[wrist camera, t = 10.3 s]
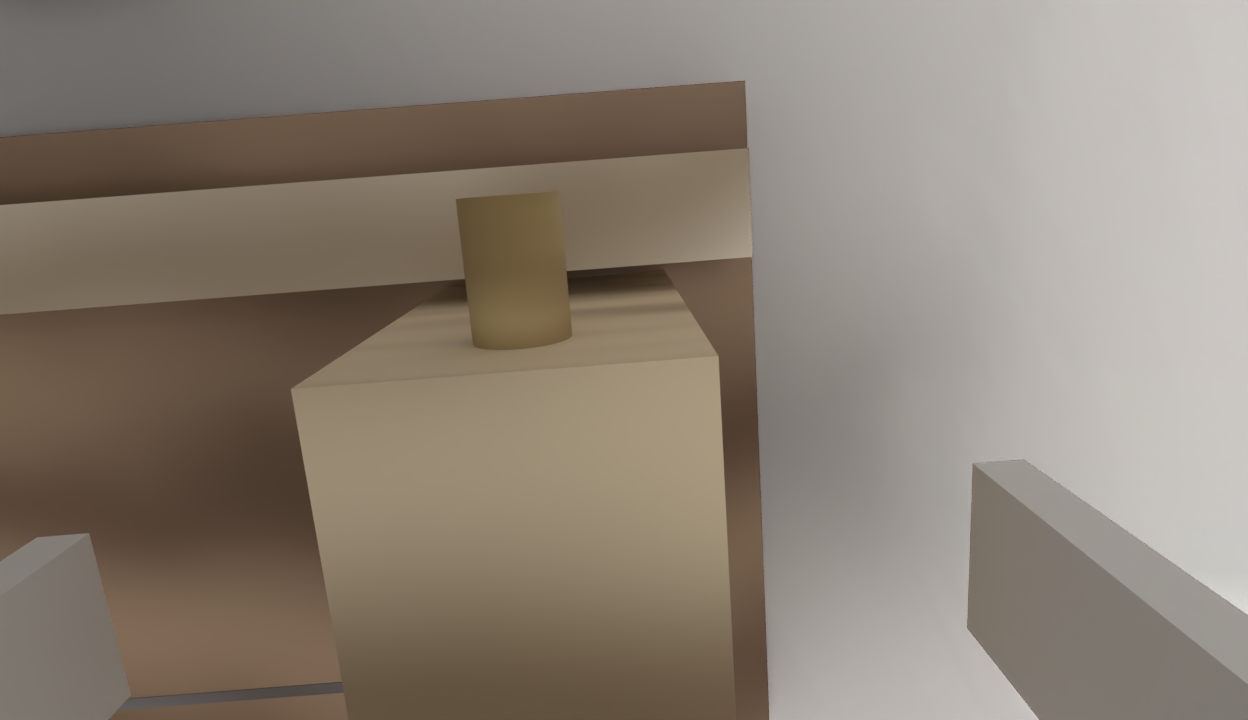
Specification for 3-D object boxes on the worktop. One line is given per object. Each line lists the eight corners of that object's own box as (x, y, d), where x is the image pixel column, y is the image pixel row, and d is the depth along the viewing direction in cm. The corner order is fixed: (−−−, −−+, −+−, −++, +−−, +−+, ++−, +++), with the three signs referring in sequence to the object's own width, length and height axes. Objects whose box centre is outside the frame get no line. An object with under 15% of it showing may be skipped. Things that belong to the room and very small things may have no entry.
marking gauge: (435, 198, 17) (260, 214, 9) (658, 180, 18) (709, 180, 9) (495, 681, 20) (409, 1065, 11) (689, 666, 20) (751, 1037, 11)
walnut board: (-304, 169, 19) (-619, 165, 14) (731, 90, 19) (772, 59, 14) (-106, 772, 23) (-300, 934, 18) (756, 705, 23) (797, 848, 18)
